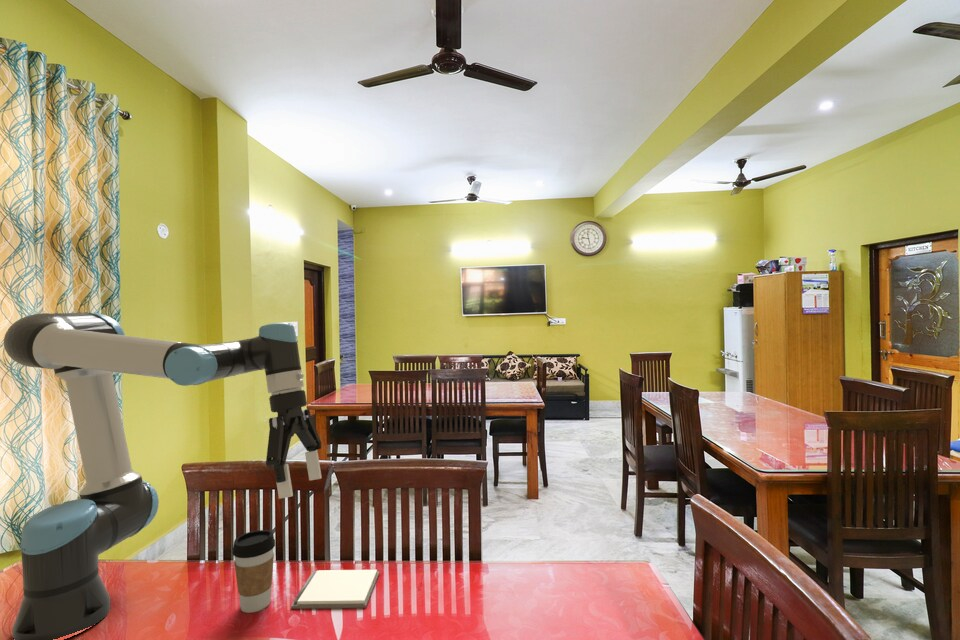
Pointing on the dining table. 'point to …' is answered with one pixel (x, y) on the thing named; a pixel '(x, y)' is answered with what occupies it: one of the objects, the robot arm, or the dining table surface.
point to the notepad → (336, 589)
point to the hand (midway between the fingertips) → (301, 487)
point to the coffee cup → (254, 569)
